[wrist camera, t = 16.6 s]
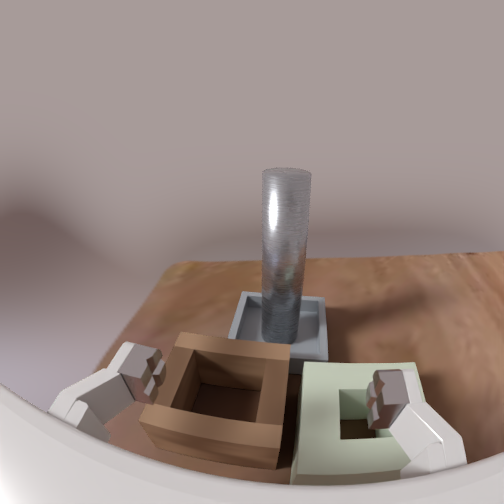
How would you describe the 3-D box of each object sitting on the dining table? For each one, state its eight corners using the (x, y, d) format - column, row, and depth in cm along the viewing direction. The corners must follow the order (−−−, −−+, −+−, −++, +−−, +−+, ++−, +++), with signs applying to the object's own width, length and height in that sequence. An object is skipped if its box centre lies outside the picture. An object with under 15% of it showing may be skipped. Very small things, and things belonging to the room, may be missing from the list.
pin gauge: (297, 323, 26) (310, 169, 20) (296, 347, 23) (312, 179, 17) (263, 320, 27) (265, 167, 20) (258, 344, 24) (259, 176, 17)
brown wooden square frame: (286, 378, 21) (290, 344, 19) (275, 469, 14) (279, 448, 12) (188, 365, 22) (180, 331, 20) (156, 447, 15) (138, 420, 14)
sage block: (396, 394, 19) (414, 362, 17) (409, 483, 12) (437, 462, 10) (298, 394, 20) (304, 361, 18) (288, 490, 13) (296, 474, 11)
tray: (321, 313, 28) (324, 297, 27) (323, 375, 21) (328, 360, 20) (242, 307, 29) (242, 291, 28) (225, 367, 22) (223, 351, 21)
